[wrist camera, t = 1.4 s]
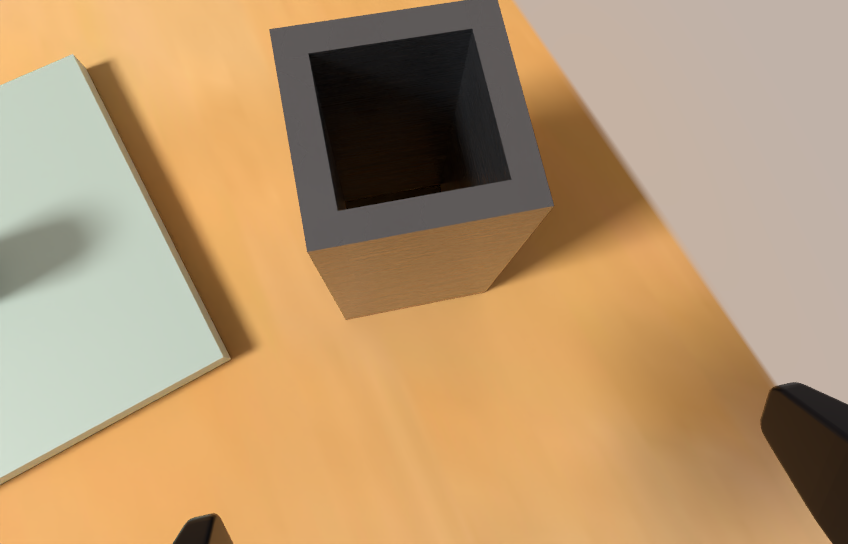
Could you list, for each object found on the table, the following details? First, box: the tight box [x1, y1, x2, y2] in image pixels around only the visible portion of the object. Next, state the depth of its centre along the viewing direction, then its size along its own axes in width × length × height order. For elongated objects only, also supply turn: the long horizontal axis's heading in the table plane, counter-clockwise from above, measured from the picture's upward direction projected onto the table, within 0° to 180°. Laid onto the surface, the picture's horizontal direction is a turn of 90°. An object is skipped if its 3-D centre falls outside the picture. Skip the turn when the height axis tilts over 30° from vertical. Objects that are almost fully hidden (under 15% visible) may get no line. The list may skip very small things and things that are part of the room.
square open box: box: [269, 0, 554, 320], centre depth 18 cm, size 6×6×10 cm
